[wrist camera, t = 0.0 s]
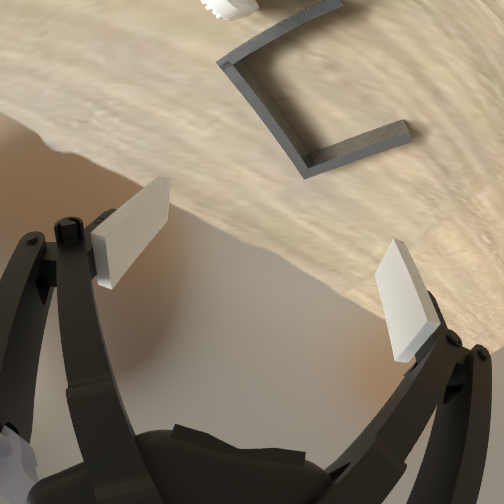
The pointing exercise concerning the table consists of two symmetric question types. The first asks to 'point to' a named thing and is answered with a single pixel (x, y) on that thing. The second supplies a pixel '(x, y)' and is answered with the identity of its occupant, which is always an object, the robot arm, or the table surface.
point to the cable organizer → (231, 8)
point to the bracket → (279, 124)
